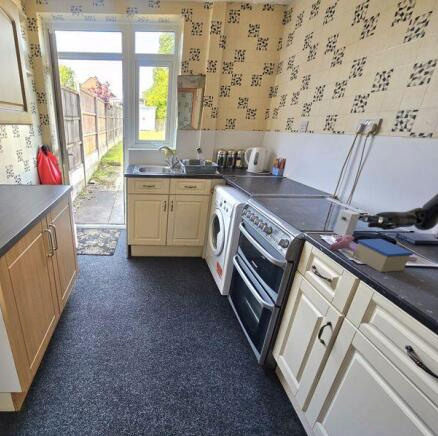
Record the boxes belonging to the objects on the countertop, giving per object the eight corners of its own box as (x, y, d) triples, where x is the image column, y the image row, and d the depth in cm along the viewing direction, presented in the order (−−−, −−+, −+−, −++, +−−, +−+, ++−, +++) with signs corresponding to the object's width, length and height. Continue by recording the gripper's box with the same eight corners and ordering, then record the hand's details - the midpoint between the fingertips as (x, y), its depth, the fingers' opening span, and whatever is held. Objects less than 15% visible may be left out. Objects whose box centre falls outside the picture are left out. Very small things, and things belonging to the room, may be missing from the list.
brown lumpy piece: (338, 255, 95) (353, 244, 90) (327, 247, 97) (341, 235, 93) (344, 248, 101) (359, 237, 97) (334, 240, 103) (348, 229, 99)
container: (404, 270, 83) (413, 252, 81) (380, 272, 82) (388, 254, 79) (373, 255, 93) (380, 238, 90) (351, 256, 92) (357, 239, 89)
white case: (351, 237, 108) (360, 213, 104) (342, 237, 107) (351, 214, 103) (341, 232, 113) (348, 209, 109) (332, 232, 112) (339, 209, 108)
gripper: (377, 207, 116) (347, 208, 113) (412, 217, 103) (379, 219, 100) (372, 221, 118) (342, 223, 116) (404, 234, 105) (372, 235, 103)
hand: (359, 221), depth 108 cm, fingers open, 8 cm apart
